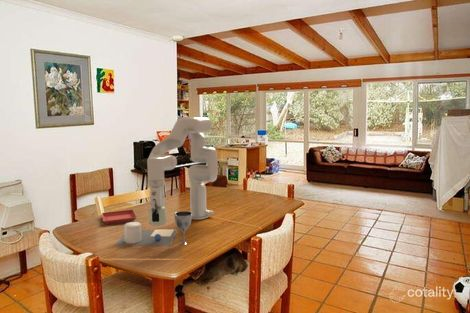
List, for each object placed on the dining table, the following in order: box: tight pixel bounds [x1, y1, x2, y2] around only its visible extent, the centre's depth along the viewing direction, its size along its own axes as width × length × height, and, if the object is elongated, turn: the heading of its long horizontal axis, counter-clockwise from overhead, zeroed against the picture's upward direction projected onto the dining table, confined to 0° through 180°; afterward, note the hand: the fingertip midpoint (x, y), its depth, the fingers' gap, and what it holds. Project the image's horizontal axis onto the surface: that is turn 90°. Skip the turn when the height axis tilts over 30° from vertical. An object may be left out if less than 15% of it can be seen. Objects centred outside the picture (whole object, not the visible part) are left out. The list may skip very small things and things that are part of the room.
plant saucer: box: [101, 209, 137, 225], centre depth 193 cm, size 18×18×3 cm
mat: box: [114, 228, 178, 246], centre depth 164 cm, size 26×21×1 cm
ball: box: [154, 234, 161, 241], centre depth 159 cm, size 3×3×3 cm
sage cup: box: [148, 204, 167, 227], centre depth 158 cm, size 8×8×8 cm
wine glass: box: [174, 210, 193, 245], centre depth 156 cm, size 8×8×15 cm
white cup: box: [123, 221, 142, 243], centre depth 159 cm, size 8×8×8 cm
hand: (157, 218), depth 159 cm, fingers closed on sage cup, 7 cm apart
